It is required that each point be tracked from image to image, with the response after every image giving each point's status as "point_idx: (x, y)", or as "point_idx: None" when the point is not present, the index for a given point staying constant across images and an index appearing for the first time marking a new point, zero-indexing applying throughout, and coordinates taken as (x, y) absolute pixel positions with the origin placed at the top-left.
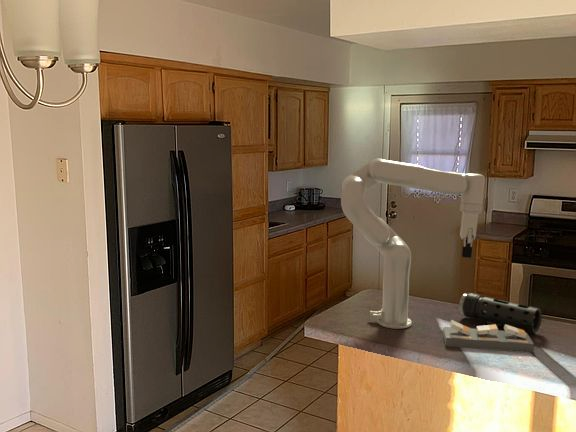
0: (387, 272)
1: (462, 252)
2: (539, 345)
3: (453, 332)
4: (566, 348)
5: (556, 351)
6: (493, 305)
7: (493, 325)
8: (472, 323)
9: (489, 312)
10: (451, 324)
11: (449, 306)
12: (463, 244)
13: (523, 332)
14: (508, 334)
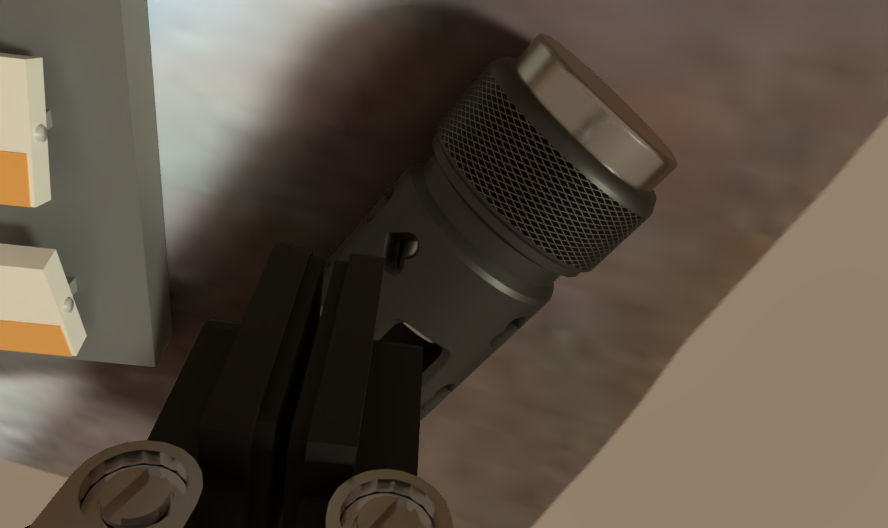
0: None
1: (257, 298)
2: (114, 377)
3: None
4: None
5: (51, 423)
6: None
7: (7, 185)
8: (445, 103)
9: (349, 241)
10: None
11: (873, 15)
12: (427, 498)
13: (8, 341)
14: (77, 258)
